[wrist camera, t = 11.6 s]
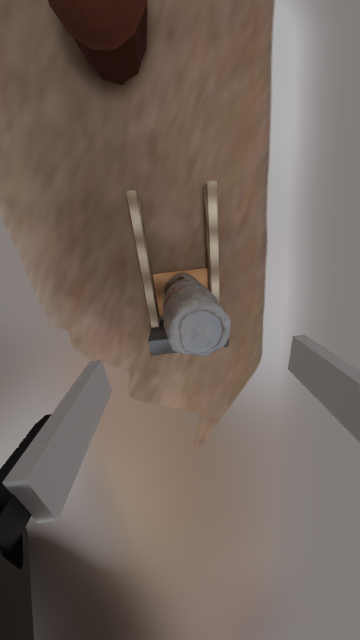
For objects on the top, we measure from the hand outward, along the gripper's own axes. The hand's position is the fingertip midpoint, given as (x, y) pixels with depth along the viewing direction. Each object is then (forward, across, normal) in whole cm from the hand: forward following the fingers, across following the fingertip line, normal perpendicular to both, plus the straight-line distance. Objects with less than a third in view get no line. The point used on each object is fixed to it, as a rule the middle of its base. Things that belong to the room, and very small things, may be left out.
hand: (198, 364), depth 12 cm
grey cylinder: (+26, +1, -1) cm, 26 cm away
